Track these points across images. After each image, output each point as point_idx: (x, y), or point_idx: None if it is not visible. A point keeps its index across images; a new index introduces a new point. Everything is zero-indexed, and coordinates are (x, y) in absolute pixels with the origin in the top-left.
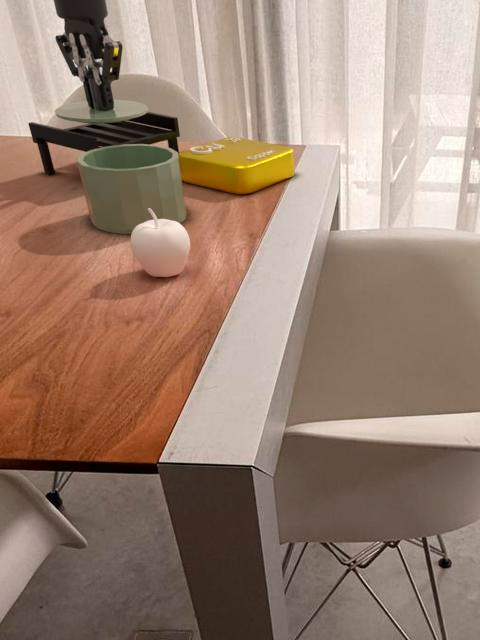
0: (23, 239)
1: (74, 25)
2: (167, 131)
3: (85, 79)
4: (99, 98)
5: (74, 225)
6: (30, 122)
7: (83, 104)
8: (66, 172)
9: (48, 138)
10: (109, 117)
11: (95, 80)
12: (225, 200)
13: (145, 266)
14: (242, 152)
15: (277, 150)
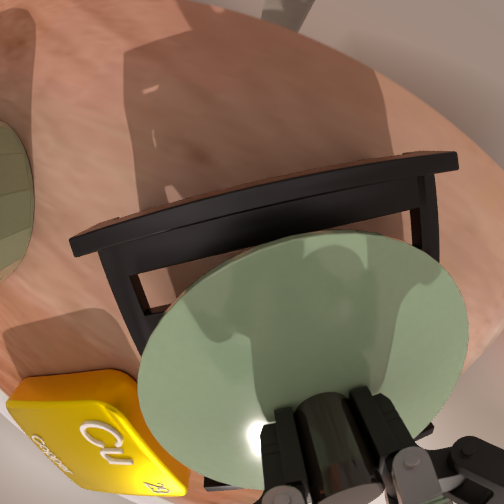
0: (16, 13)
1: None
2: None
3: (390, 468)
4: (291, 437)
5: (5, 88)
6: (456, 160)
7: (425, 378)
8: None
9: (349, 163)
10: (151, 380)
11: (302, 497)
12: (10, 350)
13: None
14: (76, 456)
15: (74, 476)
